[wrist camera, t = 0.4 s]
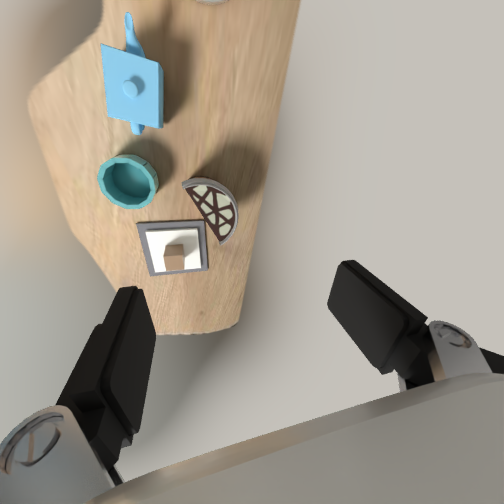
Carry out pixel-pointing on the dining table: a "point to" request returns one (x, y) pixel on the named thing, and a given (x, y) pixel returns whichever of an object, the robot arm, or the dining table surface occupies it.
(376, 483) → the robot arm
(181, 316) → the dining table surface
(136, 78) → the teapot
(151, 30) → the dining table surface
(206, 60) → the dining table surface
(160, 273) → the mat
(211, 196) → the food container
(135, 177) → the bowl
